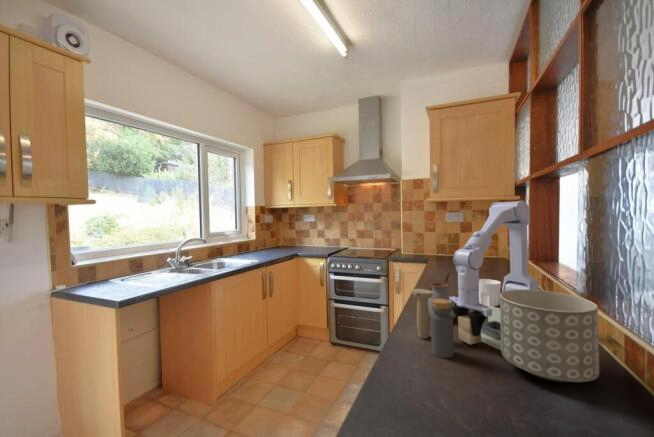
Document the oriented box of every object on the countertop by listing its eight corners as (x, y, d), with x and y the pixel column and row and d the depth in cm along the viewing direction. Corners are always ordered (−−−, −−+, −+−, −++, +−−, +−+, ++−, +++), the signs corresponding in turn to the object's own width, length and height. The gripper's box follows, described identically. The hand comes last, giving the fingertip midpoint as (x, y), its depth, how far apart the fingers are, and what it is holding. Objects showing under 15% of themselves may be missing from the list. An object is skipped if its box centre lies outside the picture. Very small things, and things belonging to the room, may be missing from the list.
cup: (506, 307, 120) (506, 283, 120) (482, 307, 120) (482, 284, 120) (493, 300, 130) (492, 278, 130) (471, 300, 130) (470, 279, 130)
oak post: (469, 336, 90) (469, 314, 90) (481, 342, 86) (480, 318, 86) (458, 338, 88) (458, 316, 88) (470, 344, 84) (469, 321, 84)
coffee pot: (452, 326, 101) (451, 284, 101) (420, 320, 108) (419, 280, 108) (464, 309, 118) (463, 273, 118) (435, 305, 125) (435, 271, 125)
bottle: (452, 350, 83) (451, 298, 83) (454, 359, 78) (453, 304, 78) (431, 347, 85) (430, 297, 85) (431, 356, 80) (430, 303, 79)
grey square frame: (498, 327, 96) (498, 319, 96) (520, 335, 89) (520, 327, 89) (477, 331, 93) (477, 323, 93) (498, 340, 86) (498, 332, 86)
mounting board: (490, 325, 100) (489, 305, 100) (536, 344, 85) (536, 320, 85) (461, 331, 96) (460, 310, 96) (504, 352, 81) (503, 327, 81)
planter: (608, 407, 57) (606, 317, 57) (498, 378, 68) (497, 303, 68) (591, 366, 73) (589, 295, 73) (503, 348, 84) (502, 286, 84)
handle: (428, 342, 88) (427, 294, 88) (410, 336, 93) (409, 290, 93) (436, 337, 92) (435, 291, 91) (418, 332, 96) (417, 288, 96)
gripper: (441, 284, 93) (442, 326, 93) (477, 295, 79) (479, 344, 79) (458, 282, 95) (459, 322, 95) (497, 292, 81) (498, 340, 81)
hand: (469, 332), depth 87 cm, fingers closed on oak post, 4 cm apart
